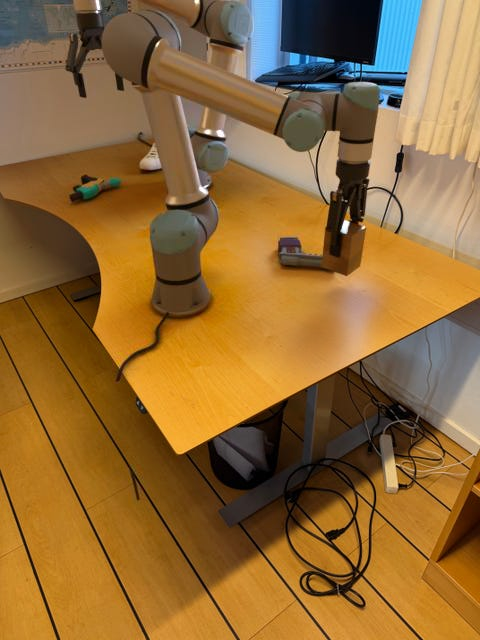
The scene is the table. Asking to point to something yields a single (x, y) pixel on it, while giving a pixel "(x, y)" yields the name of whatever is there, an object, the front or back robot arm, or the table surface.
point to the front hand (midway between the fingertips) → (342, 250)
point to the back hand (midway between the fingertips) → (102, 93)
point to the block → (345, 249)
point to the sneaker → (151, 160)
